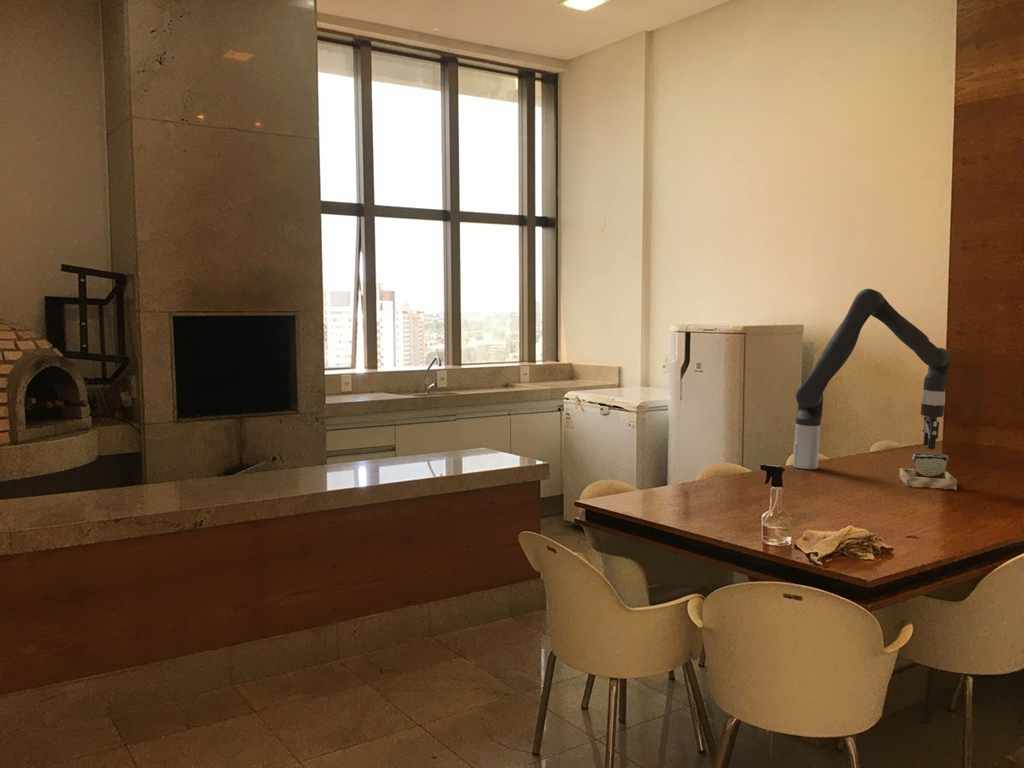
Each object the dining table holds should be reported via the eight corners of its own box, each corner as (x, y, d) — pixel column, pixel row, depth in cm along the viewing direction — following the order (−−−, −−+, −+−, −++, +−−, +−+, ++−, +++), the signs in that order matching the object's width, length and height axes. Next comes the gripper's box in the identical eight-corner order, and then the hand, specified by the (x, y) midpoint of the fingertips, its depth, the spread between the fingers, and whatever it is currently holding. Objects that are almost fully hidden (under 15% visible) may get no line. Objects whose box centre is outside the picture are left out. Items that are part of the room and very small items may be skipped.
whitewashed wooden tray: (906, 486, 290) (907, 476, 290) (899, 477, 305) (899, 468, 305) (956, 490, 285) (957, 480, 285) (946, 480, 301) (947, 471, 300)
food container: (940, 479, 298) (942, 452, 297) (947, 483, 292) (949, 455, 291) (905, 478, 300) (907, 451, 299) (911, 481, 294) (913, 454, 293)
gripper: (917, 400, 300) (914, 443, 302) (925, 404, 287) (921, 449, 288) (940, 401, 298) (936, 444, 300) (948, 406, 284) (944, 451, 286)
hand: (929, 447), depth 294 cm, fingers open, 8 cm apart
